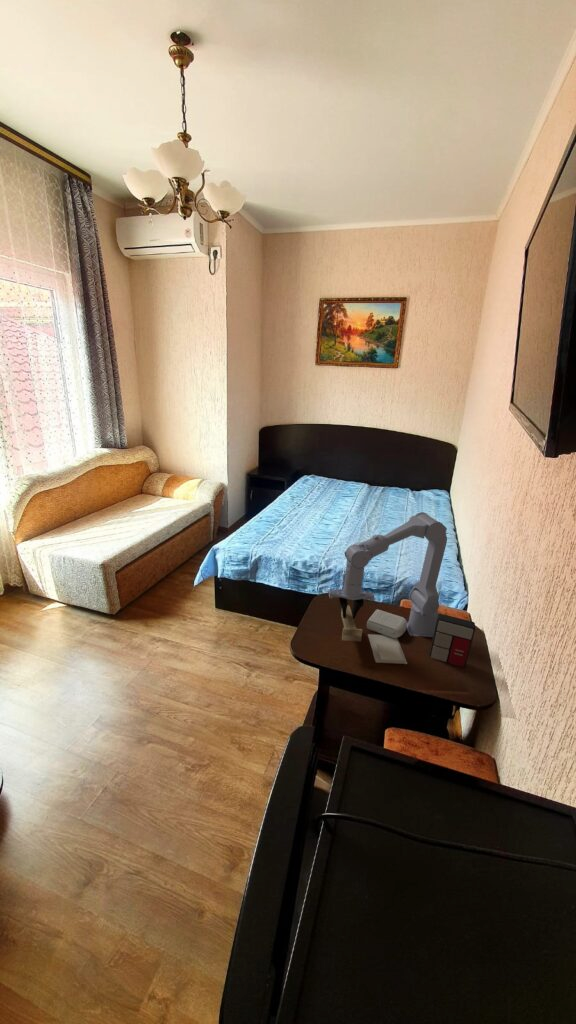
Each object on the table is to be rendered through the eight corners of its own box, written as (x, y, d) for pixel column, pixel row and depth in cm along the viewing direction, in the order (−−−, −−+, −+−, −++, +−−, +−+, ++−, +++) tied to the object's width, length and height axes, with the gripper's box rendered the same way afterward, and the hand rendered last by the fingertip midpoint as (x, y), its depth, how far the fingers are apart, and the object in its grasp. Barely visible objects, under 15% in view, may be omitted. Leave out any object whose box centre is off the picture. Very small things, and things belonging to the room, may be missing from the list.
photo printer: (365, 630, 143) (400, 642, 137) (367, 619, 142) (402, 631, 136) (375, 617, 152) (408, 627, 146) (376, 607, 150) (410, 617, 144)
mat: (395, 637, 141) (396, 635, 141) (407, 665, 128) (407, 663, 127) (367, 635, 141) (367, 634, 140) (375, 663, 127) (375, 662, 127)
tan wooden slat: (353, 615, 143) (354, 605, 142) (361, 641, 128) (362, 630, 126) (336, 614, 143) (337, 604, 142) (342, 640, 127) (343, 629, 126)
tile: (396, 641, 135) (403, 660, 127) (395, 645, 136) (402, 664, 127) (375, 640, 135) (381, 659, 126) (374, 644, 135) (380, 663, 127)
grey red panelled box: (428, 659, 131) (437, 619, 126) (429, 651, 135) (438, 612, 130) (465, 669, 128) (475, 629, 122) (464, 661, 131) (475, 622, 126)
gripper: (373, 576, 134) (367, 611, 139) (329, 573, 134) (325, 608, 139) (377, 587, 128) (371, 623, 132) (331, 584, 127) (327, 621, 132)
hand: (348, 616), depth 135 cm, fingers closed on tan wooden slat, 2 cm apart
